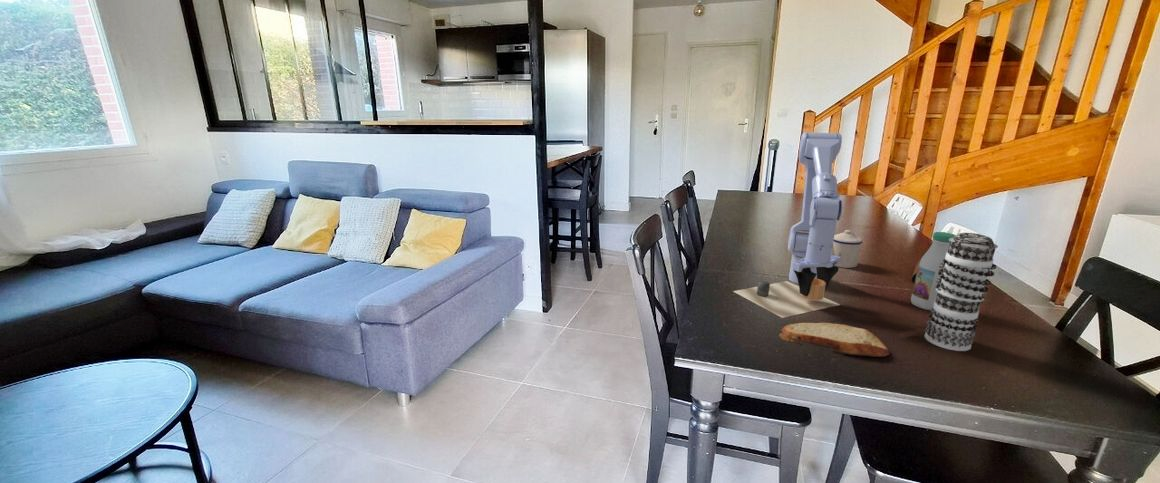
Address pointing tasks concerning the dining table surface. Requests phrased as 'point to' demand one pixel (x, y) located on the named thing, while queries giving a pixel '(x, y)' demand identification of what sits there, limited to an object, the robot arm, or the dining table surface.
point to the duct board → (783, 299)
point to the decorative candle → (961, 291)
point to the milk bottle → (930, 271)
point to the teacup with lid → (846, 249)
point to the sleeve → (816, 290)
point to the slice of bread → (836, 338)
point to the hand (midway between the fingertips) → (812, 292)
